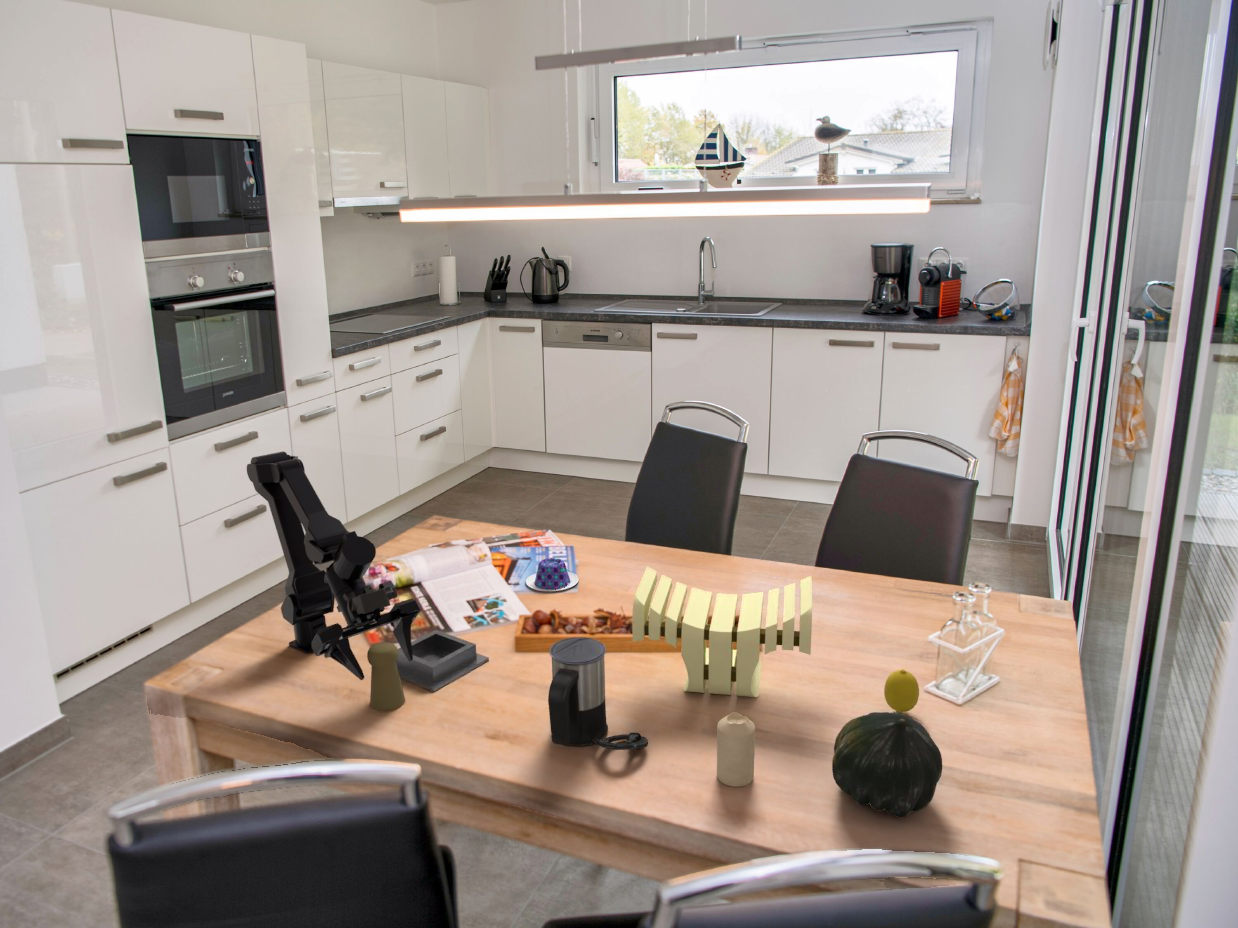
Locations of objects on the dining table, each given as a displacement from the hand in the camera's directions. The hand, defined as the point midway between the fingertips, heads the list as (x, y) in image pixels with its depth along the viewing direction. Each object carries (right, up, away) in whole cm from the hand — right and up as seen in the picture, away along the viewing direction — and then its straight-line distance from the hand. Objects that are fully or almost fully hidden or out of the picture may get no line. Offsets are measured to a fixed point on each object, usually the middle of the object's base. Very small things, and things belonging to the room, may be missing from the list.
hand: (387, 669), depth 156 cm
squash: (+78, -13, -25) cm, 83 cm away
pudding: (+25, +8, +52) cm, 58 cm away
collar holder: (+5, -3, +15) cm, 16 cm away
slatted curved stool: (+59, -4, +8) cm, 59 cm away
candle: (+57, -12, -19) cm, 61 cm away
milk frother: (+37, -9, -9) cm, 39 cm away
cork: (-1, -7, +3) cm, 7 cm away
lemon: (+87, -7, -3) cm, 87 cm away
